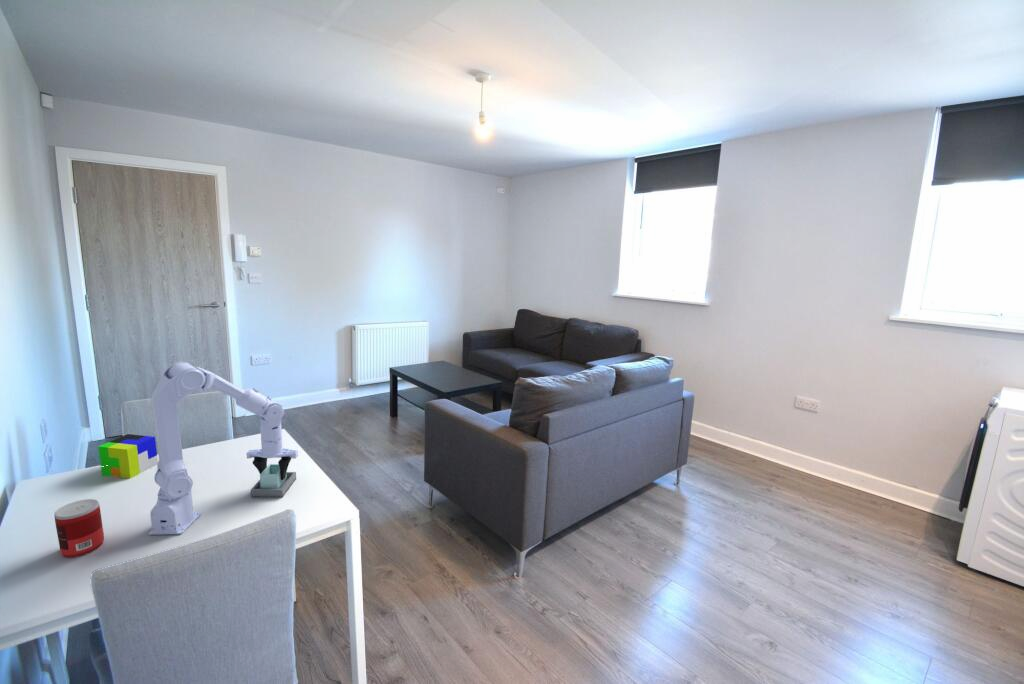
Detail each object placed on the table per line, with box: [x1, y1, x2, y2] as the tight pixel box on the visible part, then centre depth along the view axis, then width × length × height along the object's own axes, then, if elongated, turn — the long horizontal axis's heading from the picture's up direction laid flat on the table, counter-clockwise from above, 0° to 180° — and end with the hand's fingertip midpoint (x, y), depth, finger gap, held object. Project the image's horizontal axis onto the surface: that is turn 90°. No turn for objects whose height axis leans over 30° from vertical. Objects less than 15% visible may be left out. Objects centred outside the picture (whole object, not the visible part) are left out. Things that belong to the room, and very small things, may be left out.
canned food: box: [54, 498, 105, 558], centre depth 110 cm, size 8×8×11 cm
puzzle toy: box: [97, 433, 159, 479], centre depth 147 cm, size 10×10×10 cm
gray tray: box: [250, 471, 297, 498], centre depth 141 cm, size 9×11×2 cm
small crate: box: [259, 463, 287, 489], centre depth 141 cm, size 5×7×5 cm
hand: (274, 478), depth 141 cm, fingers closed on small crate, 5 cm apart
